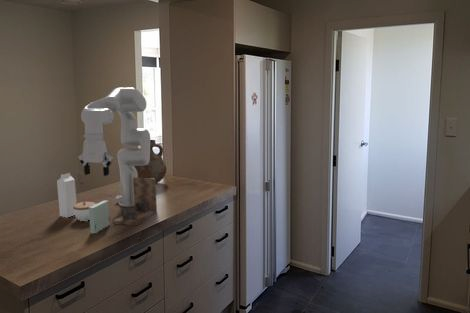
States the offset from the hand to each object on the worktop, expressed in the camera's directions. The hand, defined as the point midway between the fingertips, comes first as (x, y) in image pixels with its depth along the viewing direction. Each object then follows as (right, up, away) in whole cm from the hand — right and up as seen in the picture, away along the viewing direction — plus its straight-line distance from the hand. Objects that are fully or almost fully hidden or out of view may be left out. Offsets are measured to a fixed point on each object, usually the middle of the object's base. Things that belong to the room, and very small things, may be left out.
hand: (96, 174), depth 183 cm
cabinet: (+13, -22, +21) cm, 33 cm away
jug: (+6, -11, +90) cm, 91 cm away
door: (0, -25, +5) cm, 26 cm away
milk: (-23, -22, +24) cm, 40 cm away
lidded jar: (-12, -23, +18) cm, 32 cm away
